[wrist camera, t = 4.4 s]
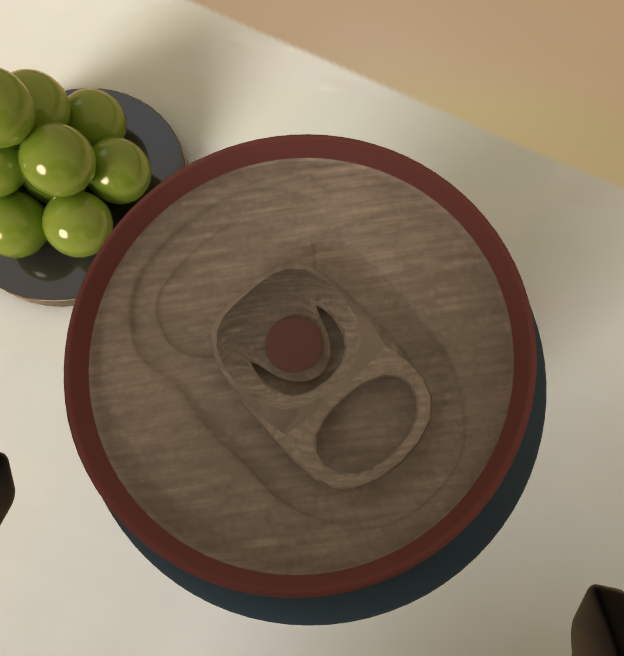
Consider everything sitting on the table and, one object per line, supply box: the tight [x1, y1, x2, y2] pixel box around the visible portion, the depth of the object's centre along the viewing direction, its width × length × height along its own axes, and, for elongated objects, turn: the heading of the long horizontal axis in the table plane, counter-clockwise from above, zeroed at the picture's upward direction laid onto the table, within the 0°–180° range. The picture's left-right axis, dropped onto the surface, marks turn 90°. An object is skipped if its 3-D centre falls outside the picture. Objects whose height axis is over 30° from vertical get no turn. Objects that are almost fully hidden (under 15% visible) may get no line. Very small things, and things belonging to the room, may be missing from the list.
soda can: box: [64, 134, 546, 625], centre depth 13 cm, size 7×7×12 cm
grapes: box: [0, 68, 188, 306], centre depth 18 cm, size 8×8×8 cm
